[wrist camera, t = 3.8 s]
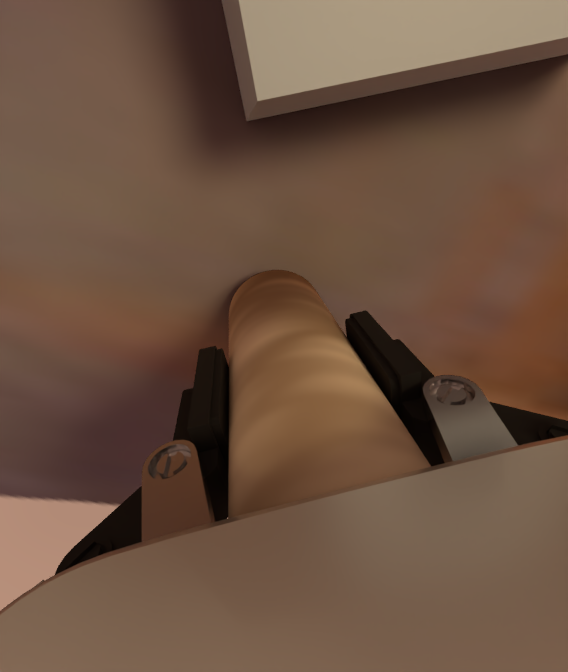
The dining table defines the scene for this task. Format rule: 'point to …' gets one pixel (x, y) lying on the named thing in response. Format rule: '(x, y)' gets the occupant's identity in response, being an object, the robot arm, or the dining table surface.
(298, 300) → the peg
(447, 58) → the socket block
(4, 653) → the robot arm
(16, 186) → the dining table surface
